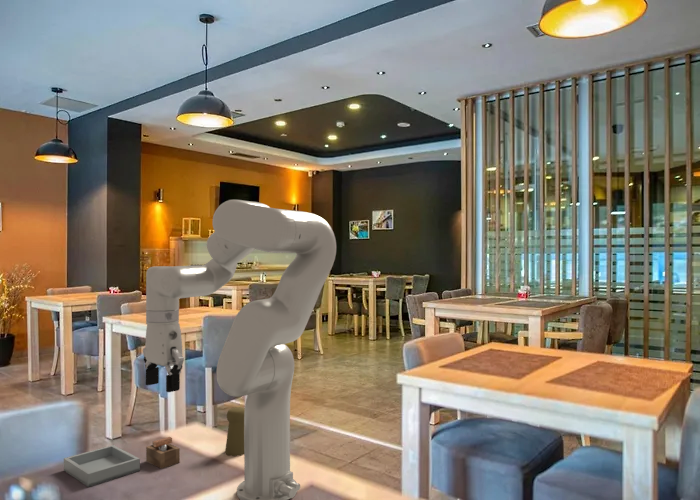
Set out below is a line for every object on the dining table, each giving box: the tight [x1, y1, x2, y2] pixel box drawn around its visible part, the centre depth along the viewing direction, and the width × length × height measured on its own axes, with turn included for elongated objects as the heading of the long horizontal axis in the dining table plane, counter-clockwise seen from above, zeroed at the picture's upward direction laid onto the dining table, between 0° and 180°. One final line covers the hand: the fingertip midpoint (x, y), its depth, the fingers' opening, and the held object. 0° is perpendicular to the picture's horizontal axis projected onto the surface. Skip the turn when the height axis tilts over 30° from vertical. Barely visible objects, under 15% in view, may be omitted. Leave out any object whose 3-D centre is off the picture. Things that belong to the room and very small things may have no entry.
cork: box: [224, 406, 245, 457], centre depth 135 cm, size 6×6×11 cm
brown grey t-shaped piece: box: [152, 436, 173, 452], centre depth 128 cm, size 2×4×5 cm, turn 139°
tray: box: [63, 444, 141, 488], centre depth 123 cm, size 14×12×3 cm
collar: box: [145, 441, 181, 470], centre depth 128 cm, size 7×5×4 cm
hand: (162, 387), depth 129 cm, fingers open, 9 cm apart
